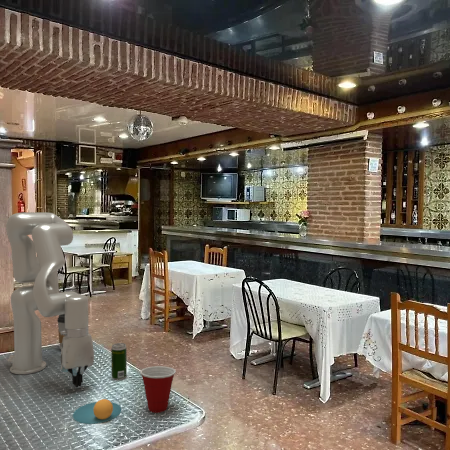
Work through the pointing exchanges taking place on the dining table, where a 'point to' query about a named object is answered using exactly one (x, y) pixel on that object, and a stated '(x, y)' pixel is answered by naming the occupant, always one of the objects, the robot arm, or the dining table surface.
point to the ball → (103, 409)
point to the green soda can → (119, 361)
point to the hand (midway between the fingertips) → (77, 385)
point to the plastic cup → (157, 386)
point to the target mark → (88, 417)
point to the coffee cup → (61, 327)
